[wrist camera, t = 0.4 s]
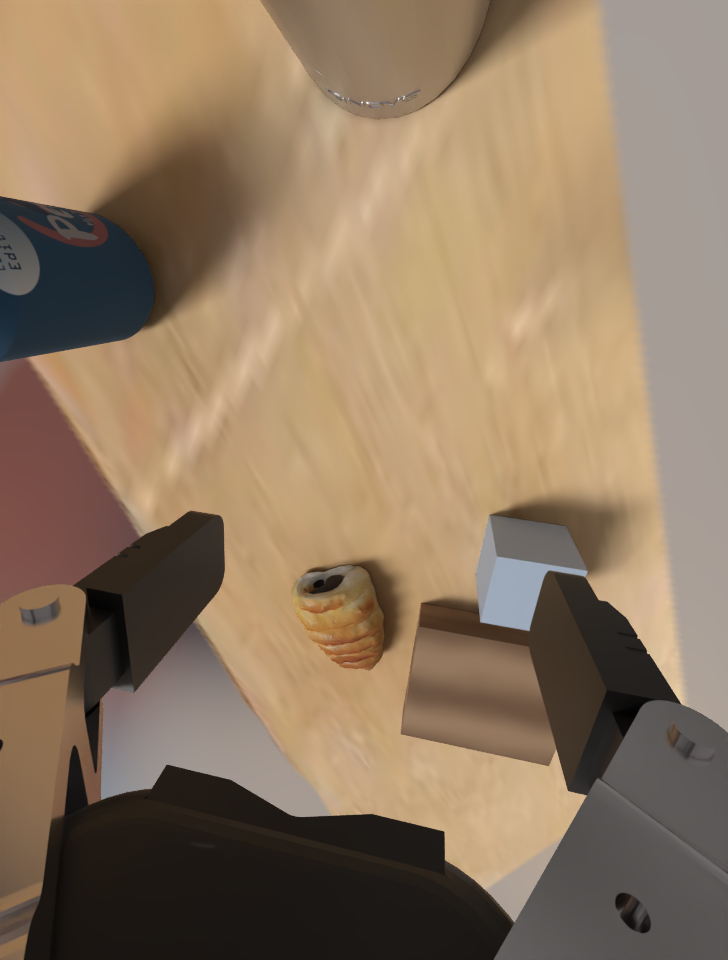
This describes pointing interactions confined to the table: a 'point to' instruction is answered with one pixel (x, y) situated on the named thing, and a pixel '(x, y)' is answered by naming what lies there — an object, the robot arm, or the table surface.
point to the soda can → (67, 280)
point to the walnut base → (475, 687)
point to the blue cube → (520, 567)
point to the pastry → (342, 615)
